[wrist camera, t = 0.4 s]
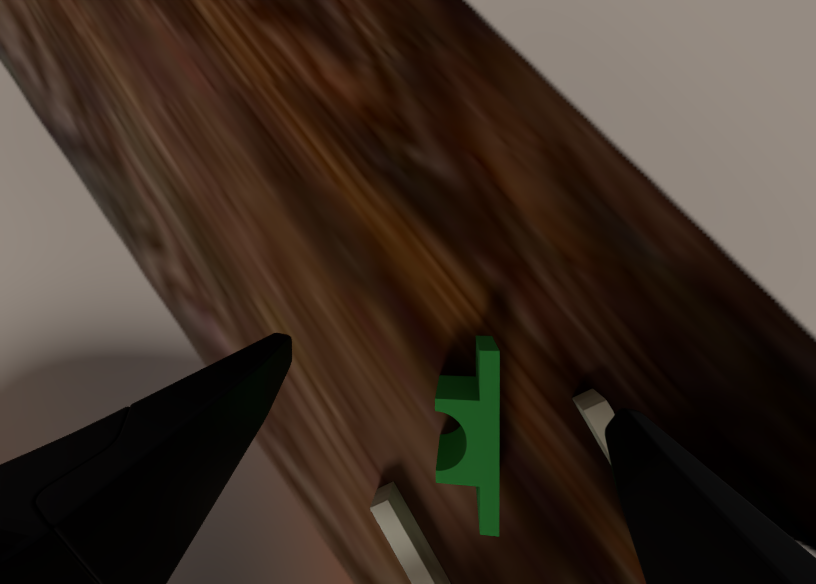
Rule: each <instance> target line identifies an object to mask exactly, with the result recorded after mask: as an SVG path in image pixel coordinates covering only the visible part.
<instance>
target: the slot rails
mask: <svg viewBox="0 0 816 584" xmlns="http://www.w3.org/2000/svg"><path fill="white" fill-rule="evenodd" d="M572 399H573V401H574V403H575V404H576V406H577V408H578V409H579V411H580V413H581V414H582V416H583V418H584V420H585V421H586V423H587V425H588V426H589V428H590V430H591V432H592V433H593V435H594V437H595V438H596V440H597V442H598V444H599V445H600V447H601V449H602V450H603V452H604V454H605V456H606V457H607V459H608V461H609V462H610V458H609V453H608V448H607V444H606V439H605V428H606V426H607V424H608V423H609V422H610V420H611V419H612V418H613V416H614V415H615V414H614V412H613V410H612V409H611V407H610V405H609V404H608V402H607V400H606V399H605V398H603V397H602V396H601V395H600V394H599V393H597V392H596V391H595V390H594V389H593V388H592V389H590V390H588V391H586V392H584V393H582V394H580V395H577V396H575V397H573V398H572ZM610 464H611V462H610ZM370 509H371V511H372V513H373V515H374V516H375V518H376V520H377V522H378V524H379V525H380V527H381V529H382V531H383V533H384V534H385V536H386V538H387V540H388V541H389V543H390V545H391V547H392V549H393V550H394V552H395V554H396V556H397V558H398V559H399V561H400V563H401V565H402V567H403V568H404V570H405V572H406V574H407V576H408V577H409V579H410V581H411V583H412V584H451V583H450V581H449V579H448V577H447V576H446V574H445V572H444V570H443V568H442V567H441V565H440V563H439V561H438V560H437V558H436V556H435V554H434V552H433V551H432V549H431V547H430V545H429V544H428V542H427V540H426V538H425V536H424V535H423V533H422V531H421V529H420V528H419V526H418V524H417V522H416V520H415V519H414V517H413V515H412V513H411V512H410V510H409V508H408V506H407V504H406V503H405V501H404V499H403V497H402V496H401V494H400V492H399V490H398V488H397V487H396V485H395V483H394V481H393V482H391V483H389V484H387V485H385V486H382V487H380V488H378V489H377V491H376V493H375V496H374V499H373V501H372V504H371V507H370Z"/></svg>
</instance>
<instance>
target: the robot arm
mask: <svg viewBox="0 0 816 584" xmlns="http://www.w3.org/2000/svg"><path fill="white" fill-rule="evenodd" d="M291 362H292V339H291V337H290V336H289V335H286V334H281V333H274V334H271V335H269V336H267V337H265V338H263V339H261V340H259V341H257V342H255V343H253V344H251V345H249V346H247V347H245V348H243V349H241V350H239V351H237V352H235V353H233V354H231V355H229V356H227V357H225V358H223V359H221V360H219V361H217V362H215V363H213V364H211V365H209V366H207V367H205V368H203V369H201V370H199V371H197V372H195V373H193V374H191V375H189V376H187V377H185V378H183V379H181V380H179V381H177V382H175V383H173V384H171V385H169V386H167V387H165V388H163V389H161V390H159V391H157V392H155V393H153V394H151V395H149V396H147V397H145V398H143V399H141V400H139V401H137V402H135V403H133V404H132V405H131V406H130V407H125V408H123V409H121V410H119V411H117V412H115V413H113V414H111V415H109V416H107V417H105V418H103V419H100V420H98V421H96V422H94V423H92V424H90V425H88V426H86V427H84V428H82V429H80V430H77V431H75V432H73V433H71V434H69V435H67V436H64V437H62V438H60V439H58V440H56V441H53V442H51V443H49V444H46V445H44V446H42V447H40V448H37V449H36V450H33V451H31V452H29V453H26V454H24V455H21V456H19V457H17V458H15V459H12V460H10V461H8V462H5V463H3V464H1V465H0V584H166V583H167V582H168V580H169V578H170V576H171V575H172V573H173V572H174V570H175V568H176V567H177V565H178V563H179V562H180V560H181V558H182V557H183V555H184V554H185V552H186V550H187V548H188V547H189V545H190V543H191V542H192V540H193V538H194V537H195V535H196V534H197V532H198V530H199V529H200V527H201V525H202V524H203V522H204V520H205V519H206V517H207V515H208V514H209V512H210V510H211V509H212V507H213V505H214V504H215V502H216V500H217V499H218V497H219V495H220V494H221V492H222V490H223V489H224V487H225V485H226V484H227V482H228V480H229V479H230V477H231V475H232V474H233V472H234V470H235V469H236V467H237V465H238V464H239V462H240V460H241V459H242V457H243V456H244V453H245V452H246V450H247V448H248V447H249V446H250V444H251V442H252V441H253V439H254V437H255V436H256V434H257V432H258V431H259V429H260V427H261V426H262V424H263V422H264V420H265V419H266V417H267V415H268V413H269V411H270V409H271V407H272V404H273V402H274V400H275V398H276V396H277V394H278V392H279V389H280V387H281V385H282V383H283V381H284V379H285V376H286V374H287V372H288V370H289V368H290V365H291ZM605 439H606V444H607V448H608V453H609V458H610V462H611V467H612V471H613V476H614V480H615V485H616V489H617V493H618V496H619V500H620V503H621V506H622V510H623V513H624V516H625V519H626V522H627V525H628V528H629V531H630V534H631V537H632V541H633V544H634V547H635V550H636V553H637V556H638V559H639V562H640V565H641V568H642V572H643V575H644V578H645V581H646V584H816V558H815V557H814V556H813V555H812V554H810V553H809V552H808V551H807V550H806V549H804V548H803V547H802V546H801V545H800V544H798V543H797V542H796V541H795V540H793V539H792V538H791V537H790V536H789V535H787V534H786V533H785V532H784V531H783V530H781V529H780V528H779V527H778V526H777V525H775V524H774V523H773V522H772V521H771V520H769V519H768V518H767V517H766V516H765V515H763V514H762V513H761V512H760V511H759V510H757V509H756V508H755V507H754V506H753V505H751V504H750V503H749V502H748V501H747V500H745V499H744V498H743V497H742V496H741V495H739V494H738V493H737V492H736V491H735V490H733V489H732V488H731V487H730V486H729V485H727V484H726V483H725V482H724V481H723V480H721V479H720V478H719V477H718V476H717V475H715V474H714V473H713V472H712V471H711V470H709V469H708V468H707V467H706V466H705V465H703V464H702V463H701V462H700V461H699V460H697V459H696V458H695V457H694V456H693V455H691V454H690V453H689V452H688V451H687V450H685V449H684V448H683V447H682V446H681V445H679V444H678V443H677V442H676V441H675V440H673V439H672V438H671V437H670V436H669V435H667V434H666V433H665V432H664V431H663V430H661V429H660V428H659V427H658V426H657V425H655V424H654V423H653V422H652V421H651V420H649V419H648V418H647V417H646V416H645V415H643V414H642V413H641V412H639V411H636V410H632V409H627V408H621V409H619V410H618V411H617V413H616V414H615V415H614V416H613V418H612V419H611V420H610V422H609V423H608V424H607V426H606V428H605Z"/></svg>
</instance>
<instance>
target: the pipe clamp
mask: <svg viewBox="0 0 816 584" xmlns="http://www.w3.org/2000/svg"><path fill="white" fill-rule="evenodd" d="M499 408H500V351H499V349H498V347H497V345H496V343H495V341H494V339H493V337H492V336H476V377H471V376H444V375H440V376H439V381H438V386H437V391H436V397H435V411H440V412H444V413H446V414H449V415H450V416H452V417H453V418H455V419H456V420H457V421H458V422H459V423H460V425H461V426H460V427H459V428H458V429H457V430H455V431H454V432H452V433H449V434H443V435H440V439H439V448H438V456H437V465H436V483H446V484H456V485H467V486H476V492H477V505H478V517H479V530H480V534H481V535H489V536H498V537H499Z"/></svg>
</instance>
